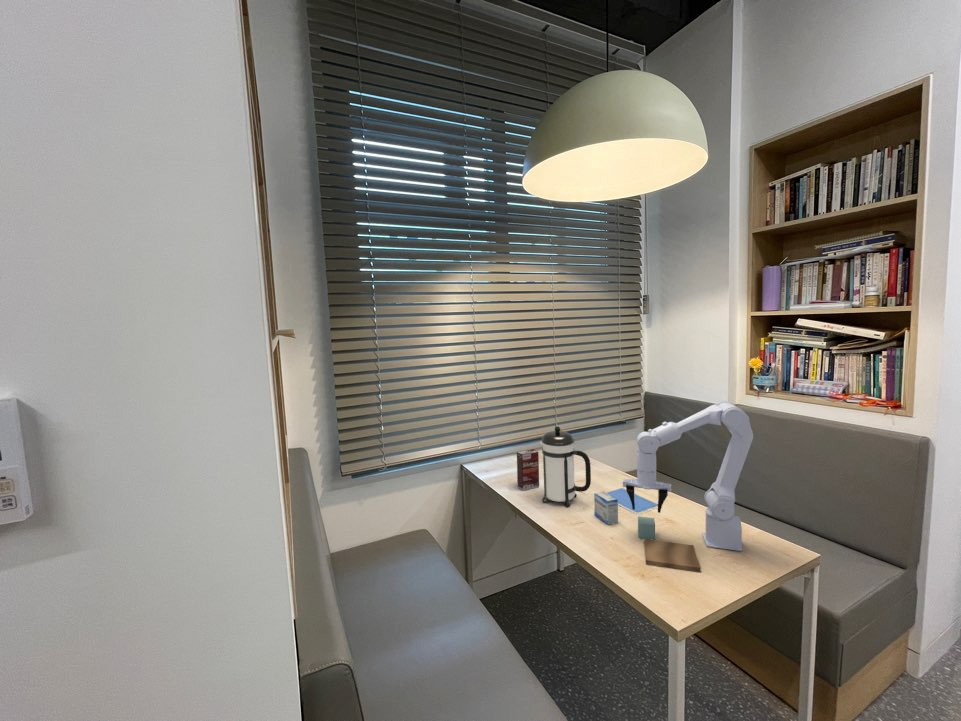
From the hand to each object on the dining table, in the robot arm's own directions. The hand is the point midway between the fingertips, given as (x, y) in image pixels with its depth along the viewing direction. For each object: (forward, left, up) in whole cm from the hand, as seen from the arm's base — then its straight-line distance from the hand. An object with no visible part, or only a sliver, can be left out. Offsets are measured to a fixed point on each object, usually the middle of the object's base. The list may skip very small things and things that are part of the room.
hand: (646, 509), depth 131 cm
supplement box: (+46, -29, -9) cm, 55 cm away
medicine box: (+13, -8, -9) cm, 18 cm away
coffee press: (+30, -20, -9) cm, 37 cm away
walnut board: (-6, +11, -9) cm, 15 cm away
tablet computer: (+5, -25, -9) cm, 27 cm away
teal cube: (0, 0, -9) cm, 9 cm away
